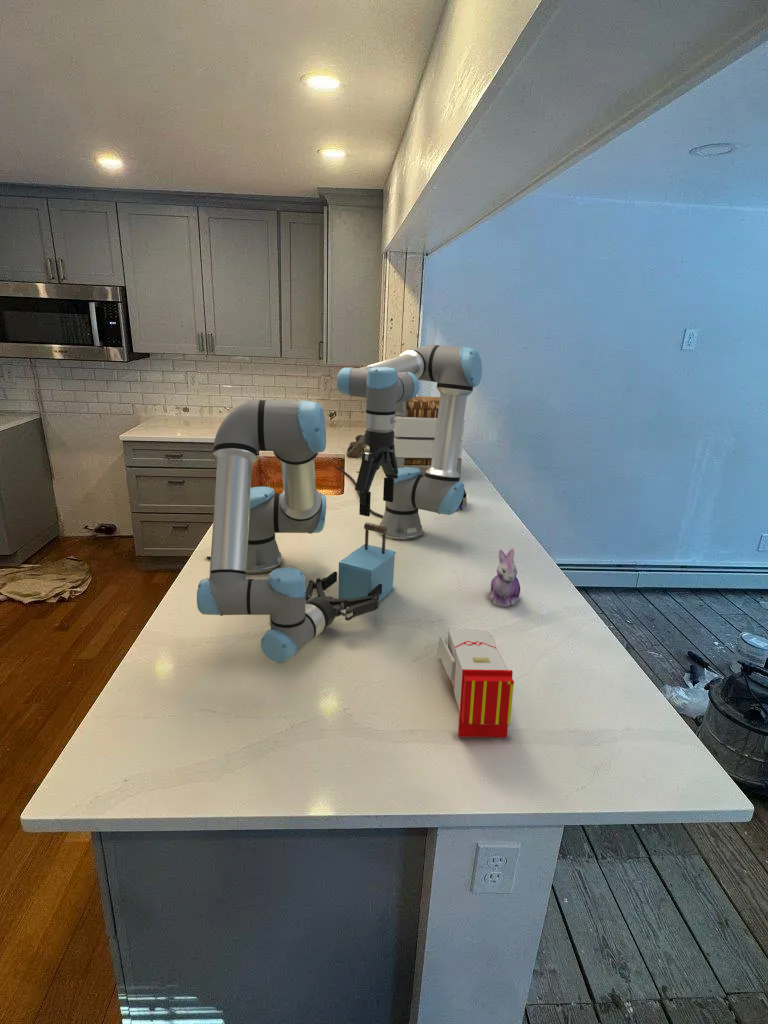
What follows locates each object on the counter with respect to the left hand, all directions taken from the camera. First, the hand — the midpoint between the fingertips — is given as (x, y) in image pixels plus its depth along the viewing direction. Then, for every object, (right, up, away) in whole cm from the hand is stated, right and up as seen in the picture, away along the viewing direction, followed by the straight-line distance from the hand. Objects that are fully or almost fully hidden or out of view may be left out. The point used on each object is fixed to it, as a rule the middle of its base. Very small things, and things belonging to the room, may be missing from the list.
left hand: (357, 582), depth 150 cm
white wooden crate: (+24, +37, +125) cm, 133 cm away
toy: (+25, -19, -31) cm, 44 cm away
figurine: (+40, -6, +7) cm, 41 cm away
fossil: (-7, +50, +157) cm, 165 cm away
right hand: (+5, +20, +2) cm, 20 cm away
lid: (+3, +6, +3) cm, 7 cm away
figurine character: (+36, +21, +81) cm, 91 cm away
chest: (+2, -4, +7) cm, 8 cm away
